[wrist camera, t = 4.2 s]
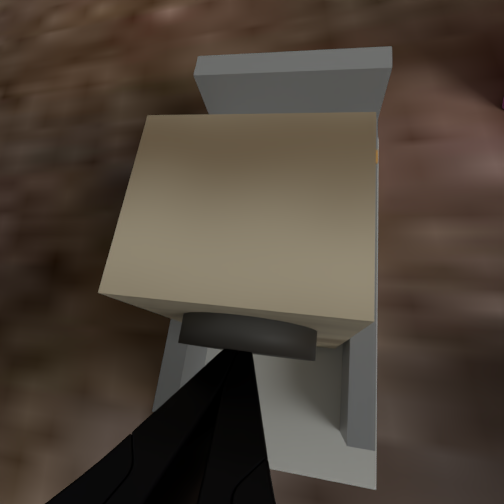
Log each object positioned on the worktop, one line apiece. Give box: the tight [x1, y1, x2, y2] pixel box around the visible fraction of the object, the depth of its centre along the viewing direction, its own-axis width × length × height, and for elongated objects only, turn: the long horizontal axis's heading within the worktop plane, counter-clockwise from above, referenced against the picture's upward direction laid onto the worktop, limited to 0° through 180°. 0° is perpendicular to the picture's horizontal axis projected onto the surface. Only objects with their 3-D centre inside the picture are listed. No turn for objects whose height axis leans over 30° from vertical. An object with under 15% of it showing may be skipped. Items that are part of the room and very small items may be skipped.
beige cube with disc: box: [98, 112, 376, 361], centre depth 12 cm, size 6×6×10 cm
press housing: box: [152, 46, 392, 490], centre depth 15 cm, size 18×10×7 cm, turn 173°
